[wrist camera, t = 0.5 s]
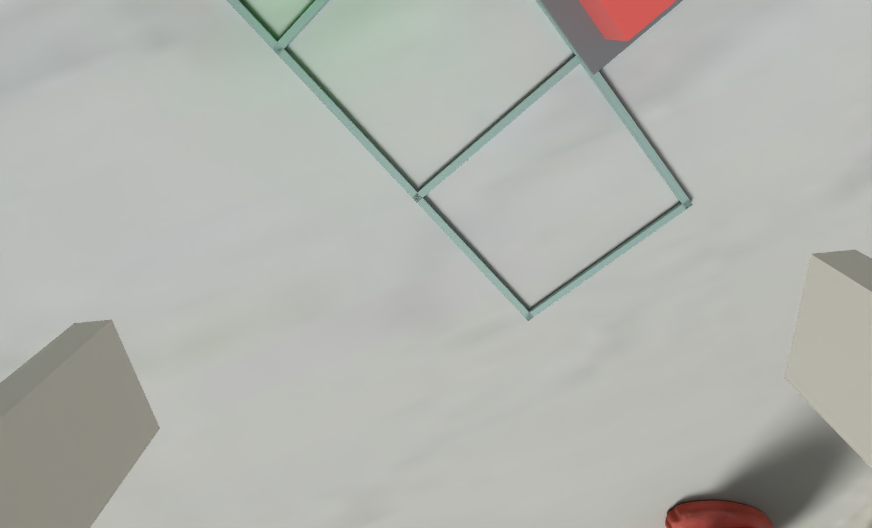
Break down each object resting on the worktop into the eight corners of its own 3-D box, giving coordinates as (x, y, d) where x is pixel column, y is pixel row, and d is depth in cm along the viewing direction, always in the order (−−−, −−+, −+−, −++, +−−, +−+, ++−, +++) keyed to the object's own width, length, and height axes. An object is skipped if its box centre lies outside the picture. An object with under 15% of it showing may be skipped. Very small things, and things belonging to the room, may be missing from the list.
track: (94, -143, 27) (90, -145, 27) (265, -399, 23) (263, -404, 23) (527, 318, 39) (528, 320, 39) (691, 203, 35) (692, 204, 35)
